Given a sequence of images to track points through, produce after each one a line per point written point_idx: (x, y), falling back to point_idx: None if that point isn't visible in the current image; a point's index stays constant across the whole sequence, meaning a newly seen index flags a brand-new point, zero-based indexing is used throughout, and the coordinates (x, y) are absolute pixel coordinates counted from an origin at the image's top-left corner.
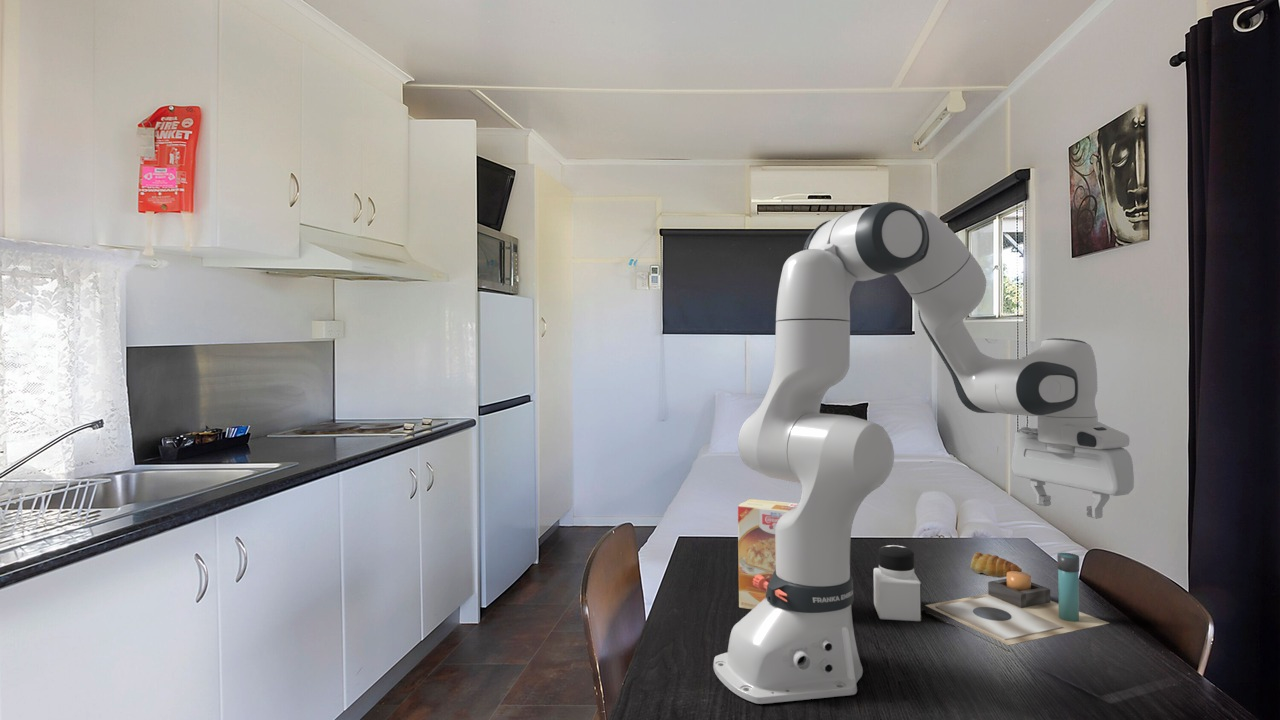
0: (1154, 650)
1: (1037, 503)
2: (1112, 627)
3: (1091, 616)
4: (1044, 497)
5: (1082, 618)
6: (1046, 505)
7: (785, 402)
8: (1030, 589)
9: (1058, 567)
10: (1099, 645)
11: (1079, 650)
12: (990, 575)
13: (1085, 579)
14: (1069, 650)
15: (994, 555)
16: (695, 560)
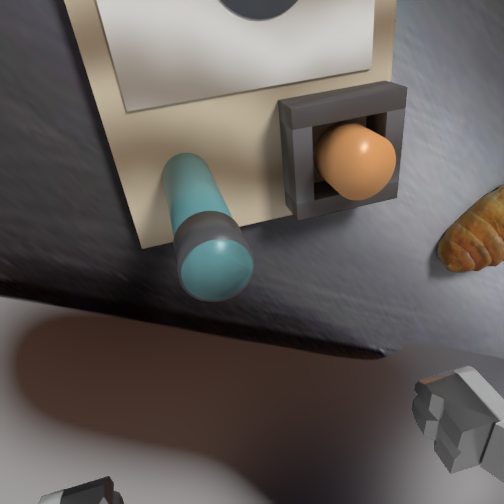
0: (11, 250)
1: (467, 370)
2: (149, 252)
3: None
4: (456, 433)
5: None
6: (419, 396)
7: None
8: (319, 173)
9: (219, 214)
10: (43, 145)
11: (6, 60)
12: (478, 201)
13: (372, 357)
14: (6, 27)
15: None
16: None
